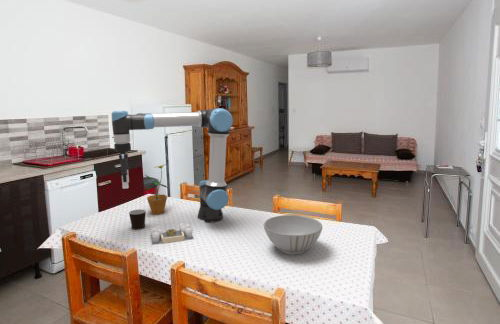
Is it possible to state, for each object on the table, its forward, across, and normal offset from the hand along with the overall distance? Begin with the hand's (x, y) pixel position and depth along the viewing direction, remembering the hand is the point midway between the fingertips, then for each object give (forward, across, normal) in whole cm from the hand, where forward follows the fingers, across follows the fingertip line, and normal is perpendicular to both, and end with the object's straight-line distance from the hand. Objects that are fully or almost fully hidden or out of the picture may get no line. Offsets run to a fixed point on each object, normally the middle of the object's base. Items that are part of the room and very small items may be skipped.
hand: (126, 185), depth 170 cm
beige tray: (+28, +9, +20) cm, 35 cm away
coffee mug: (+28, -12, +5) cm, 30 cm away
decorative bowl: (+29, +40, +72) cm, 87 cm away
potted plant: (+28, -37, +15) cm, 49 cm away
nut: (+27, +6, +20) cm, 34 cm away
